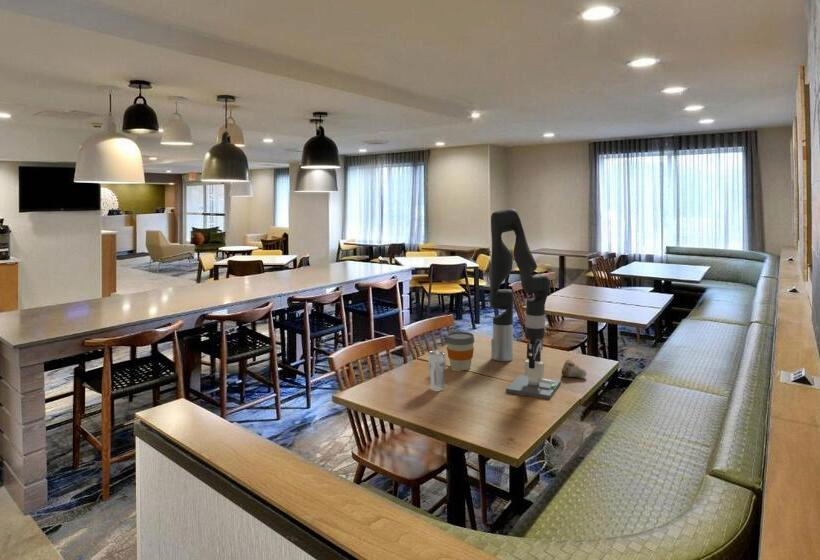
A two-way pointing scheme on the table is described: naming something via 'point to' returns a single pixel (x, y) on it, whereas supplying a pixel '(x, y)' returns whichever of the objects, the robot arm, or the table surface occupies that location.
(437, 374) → the beer glass
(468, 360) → the reusable coffee cup
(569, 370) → the mug
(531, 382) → the peg knob
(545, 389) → the dial board
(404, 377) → the table surface
